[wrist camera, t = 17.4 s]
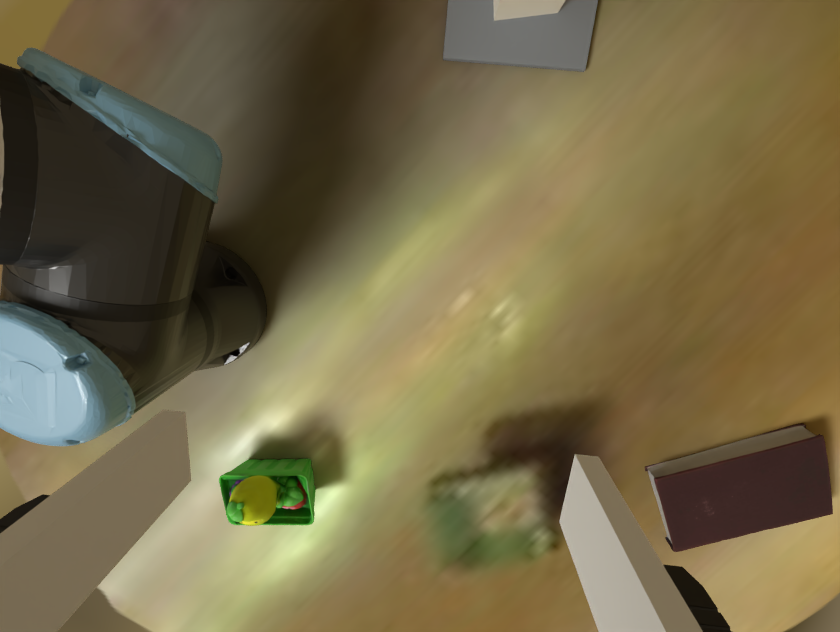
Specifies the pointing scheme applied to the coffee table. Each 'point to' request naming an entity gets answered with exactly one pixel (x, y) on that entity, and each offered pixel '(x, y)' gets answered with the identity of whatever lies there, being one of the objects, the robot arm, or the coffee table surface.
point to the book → (743, 487)
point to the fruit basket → (269, 492)
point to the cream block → (524, 8)
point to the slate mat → (520, 36)
